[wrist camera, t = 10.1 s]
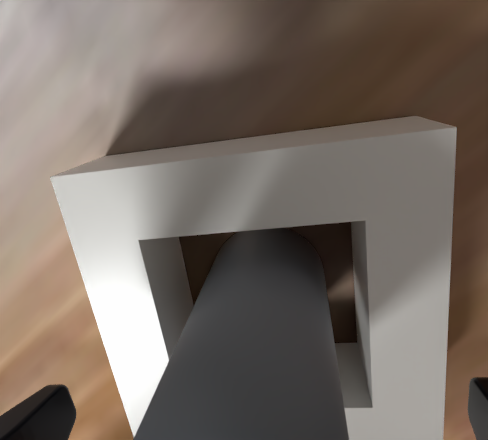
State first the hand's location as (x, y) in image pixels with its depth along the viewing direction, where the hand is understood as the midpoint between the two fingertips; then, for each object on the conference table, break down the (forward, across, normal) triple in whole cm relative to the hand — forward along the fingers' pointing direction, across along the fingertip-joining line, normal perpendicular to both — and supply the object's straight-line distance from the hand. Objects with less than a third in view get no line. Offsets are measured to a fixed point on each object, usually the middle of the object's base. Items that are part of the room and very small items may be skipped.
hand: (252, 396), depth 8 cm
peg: (+6, 0, 0) cm, 6 cm away
